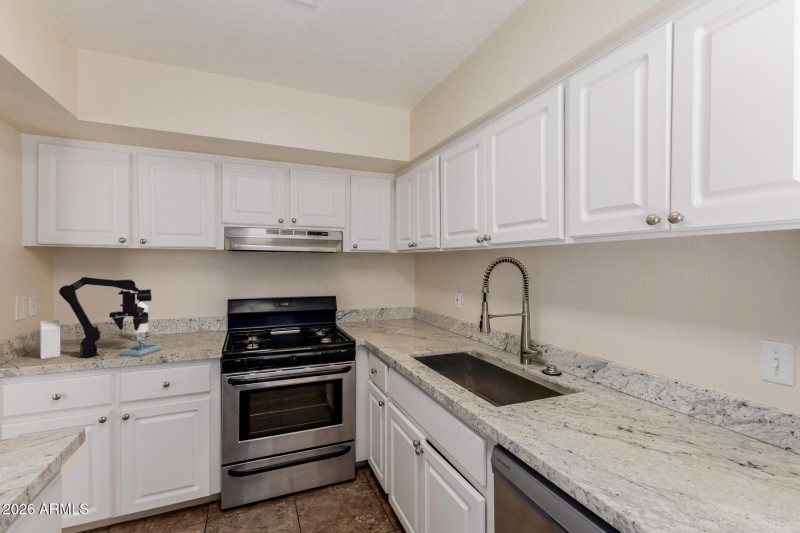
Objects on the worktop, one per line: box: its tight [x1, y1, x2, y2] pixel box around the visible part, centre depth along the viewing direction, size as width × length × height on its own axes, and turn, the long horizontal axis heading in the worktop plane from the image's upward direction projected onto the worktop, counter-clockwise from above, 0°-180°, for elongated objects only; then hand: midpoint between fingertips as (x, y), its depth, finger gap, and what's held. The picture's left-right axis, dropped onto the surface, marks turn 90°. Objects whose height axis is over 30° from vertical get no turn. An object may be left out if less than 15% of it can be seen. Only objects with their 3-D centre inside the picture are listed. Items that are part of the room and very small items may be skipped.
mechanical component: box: [131, 331, 151, 350], centre depth 196 cm, size 3×10×10 cm, turn 174°
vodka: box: [131, 300, 150, 341], centre depth 230 cm, size 9×9×30 cm
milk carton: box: [39, 319, 61, 360], centre depth 187 cm, size 7×7×19 cm
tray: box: [119, 343, 162, 358], centre depth 196 cm, size 11×15×3 cm
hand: (128, 330), depth 199 cm, fingers open, 9 cm apart
